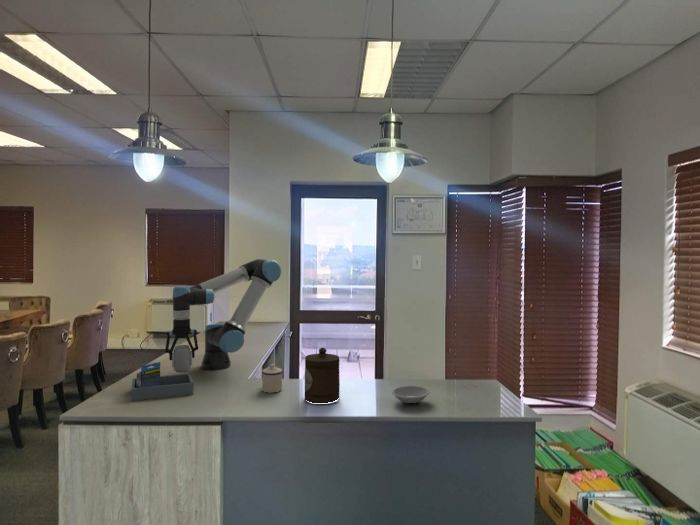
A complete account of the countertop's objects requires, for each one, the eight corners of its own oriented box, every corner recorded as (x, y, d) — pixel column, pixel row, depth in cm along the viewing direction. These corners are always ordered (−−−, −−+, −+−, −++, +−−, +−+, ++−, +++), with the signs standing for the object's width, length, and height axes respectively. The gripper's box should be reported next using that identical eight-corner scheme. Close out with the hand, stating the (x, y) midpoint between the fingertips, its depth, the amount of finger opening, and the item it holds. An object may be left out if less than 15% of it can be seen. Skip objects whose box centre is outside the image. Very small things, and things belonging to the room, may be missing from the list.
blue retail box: (155, 388, 193) (155, 360, 193) (160, 389, 191) (160, 361, 191) (136, 393, 186) (136, 364, 185) (141, 394, 183) (141, 365, 183)
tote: (190, 384, 203) (190, 373, 203) (193, 394, 188) (193, 383, 188) (132, 390, 193) (132, 378, 193) (131, 401, 178) (131, 389, 178)
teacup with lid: (286, 390, 196) (286, 364, 196) (269, 395, 189) (269, 368, 189) (270, 384, 204) (271, 360, 204) (254, 388, 198) (254, 363, 198)
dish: (410, 394, 194) (410, 383, 193) (437, 402, 183) (437, 391, 183) (383, 403, 181) (384, 391, 181) (411, 413, 171) (411, 400, 171)
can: (184, 373, 205) (184, 348, 205) (170, 372, 206) (170, 347, 206) (193, 368, 212) (193, 344, 212) (179, 368, 214) (179, 343, 213)
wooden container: (306, 393, 192) (307, 344, 192) (340, 394, 192) (341, 344, 192) (302, 405, 178) (302, 351, 177) (338, 406, 177) (339, 352, 177)
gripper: (158, 321, 201) (159, 370, 202) (204, 318, 209) (205, 365, 210) (158, 318, 208) (159, 366, 208) (202, 316, 216) (203, 361, 217)
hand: (182, 365), depth 209 cm, fingers closed on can, 7 cm apart
